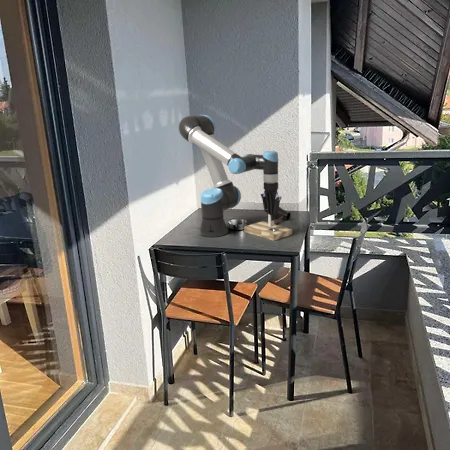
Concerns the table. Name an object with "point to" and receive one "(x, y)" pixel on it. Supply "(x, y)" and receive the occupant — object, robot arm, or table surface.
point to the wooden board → (267, 231)
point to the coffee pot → (282, 215)
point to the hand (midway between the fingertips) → (271, 226)
